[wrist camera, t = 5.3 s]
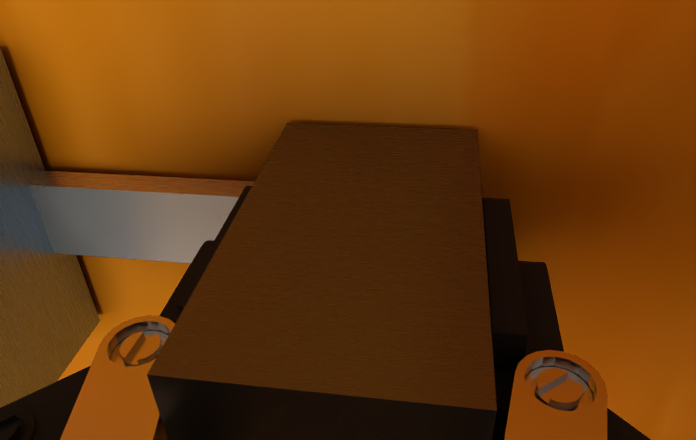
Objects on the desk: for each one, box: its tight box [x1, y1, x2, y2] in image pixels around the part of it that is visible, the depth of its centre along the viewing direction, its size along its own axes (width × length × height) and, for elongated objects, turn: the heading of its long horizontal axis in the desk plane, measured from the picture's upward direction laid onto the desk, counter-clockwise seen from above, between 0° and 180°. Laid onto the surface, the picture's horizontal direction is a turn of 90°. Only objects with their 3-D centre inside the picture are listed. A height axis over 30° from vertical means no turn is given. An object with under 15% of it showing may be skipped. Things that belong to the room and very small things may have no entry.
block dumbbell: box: [0, 49, 497, 440], centre depth 11 cm, size 12×8×7 cm
